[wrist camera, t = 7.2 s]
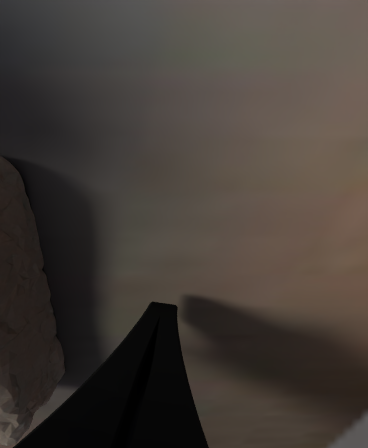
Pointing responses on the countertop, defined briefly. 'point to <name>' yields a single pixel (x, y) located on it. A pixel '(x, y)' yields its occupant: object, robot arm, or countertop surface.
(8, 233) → the brick
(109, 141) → the countertop surface
